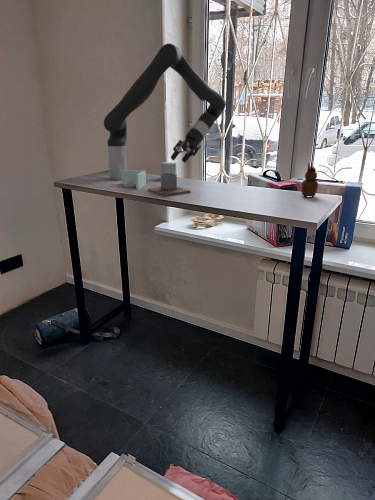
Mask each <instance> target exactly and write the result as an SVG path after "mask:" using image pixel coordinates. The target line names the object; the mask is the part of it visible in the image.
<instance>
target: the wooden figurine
mask: <svg viewBox="0 0 375 500" xmlns="http://www.w3.org/2000/svg"><path fill="white" fill-rule="evenodd" d="M307 163H308V164H307V172H305V174H304V178H305V180H303V181H302V183H301V187H300V189H301V191H300V192H301V195H302V196H303V195H305V196H314V197H315V196H316V195H317V192H318V186H319V182H318V181H317V178H318V173H317V170H316V167H315V166H314V165H313V163H311V164H310V162H307Z"/></svg>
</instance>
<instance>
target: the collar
mask: <svg viewBox="0 0 375 500" xmlns="http://www.w3.org/2000/svg"><path fill="white" fill-rule="evenodd" d="M168 174H170V175H168ZM177 179H178V175H176V174H172V173H167V174H161V173H160V187H161V190H165V191H174V190H177V187H178V185H177V184H178V180H177Z"/></svg>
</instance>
